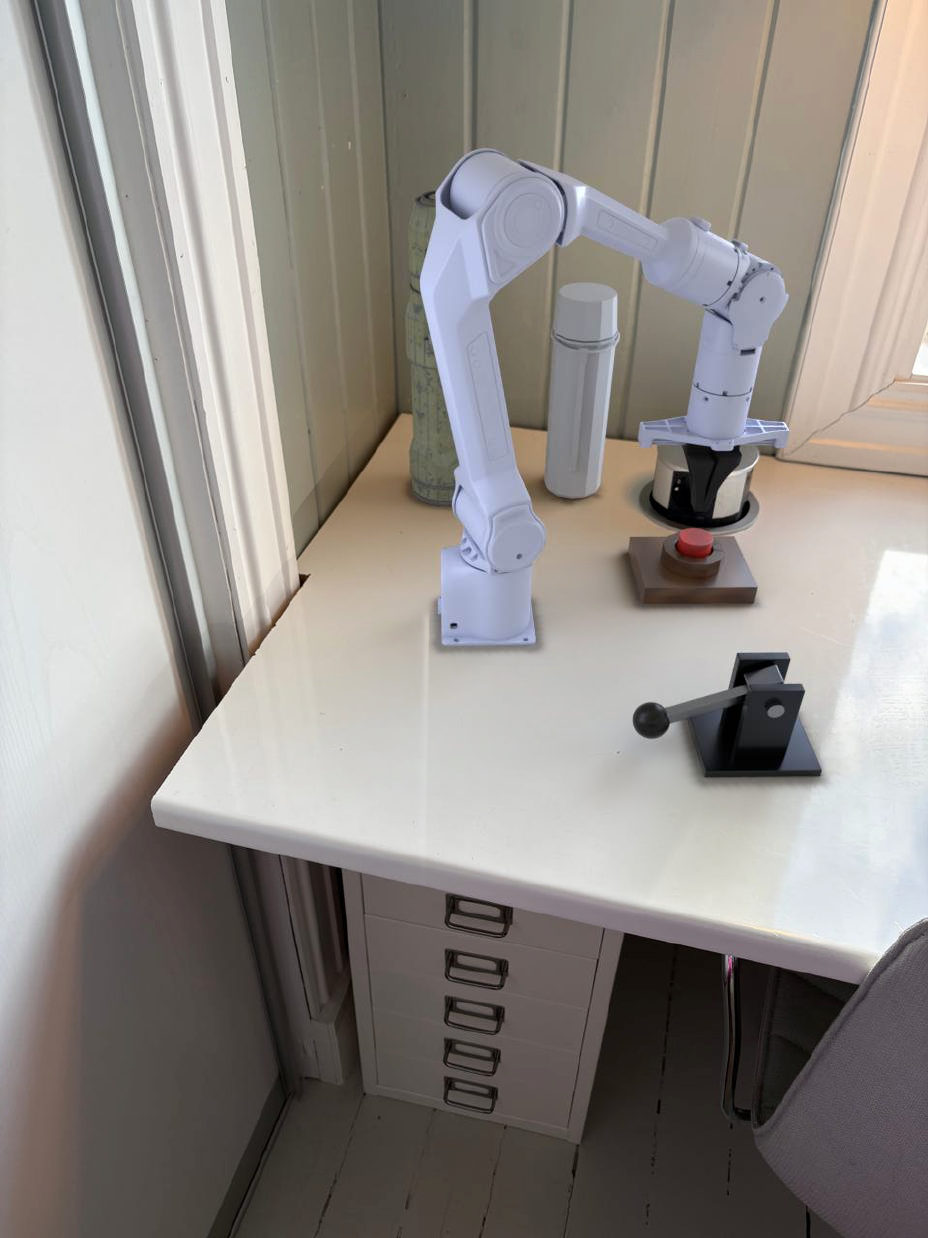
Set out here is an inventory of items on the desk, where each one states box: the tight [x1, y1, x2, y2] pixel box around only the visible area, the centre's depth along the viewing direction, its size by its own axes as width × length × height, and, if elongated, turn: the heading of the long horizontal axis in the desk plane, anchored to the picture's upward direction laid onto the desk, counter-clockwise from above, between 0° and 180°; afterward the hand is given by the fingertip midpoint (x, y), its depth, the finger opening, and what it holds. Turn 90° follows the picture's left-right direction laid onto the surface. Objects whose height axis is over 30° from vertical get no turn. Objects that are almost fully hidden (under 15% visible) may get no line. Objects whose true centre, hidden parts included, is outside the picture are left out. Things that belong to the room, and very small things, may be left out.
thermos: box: [404, 189, 459, 507], centre depth 108 cm, size 9×12×35 cm
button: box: [677, 527, 713, 558], centre depth 100 cm, size 4×4×2 cm
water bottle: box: [543, 281, 621, 500], centre depth 110 cm, size 9×8×25 cm
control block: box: [627, 530, 759, 605], centre depth 102 cm, size 12×10×4 cm
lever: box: [631, 665, 785, 740], centre depth 80 cm, size 13×3×3 cm, turn 91°
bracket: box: [686, 651, 823, 779], centre depth 80 cm, size 10×8×9 cm
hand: (699, 506), depth 97 cm, fingers closed
